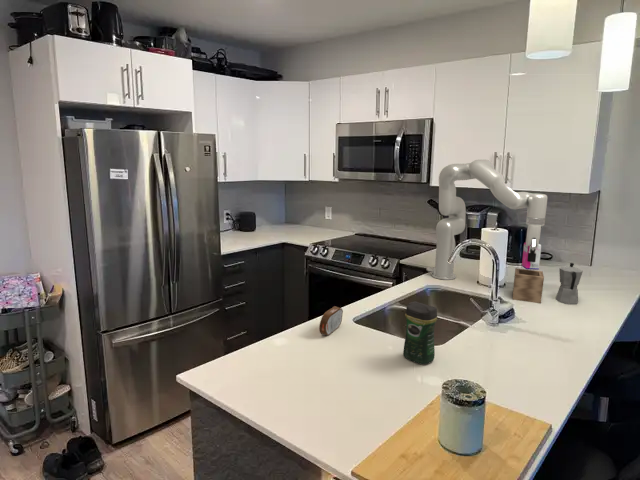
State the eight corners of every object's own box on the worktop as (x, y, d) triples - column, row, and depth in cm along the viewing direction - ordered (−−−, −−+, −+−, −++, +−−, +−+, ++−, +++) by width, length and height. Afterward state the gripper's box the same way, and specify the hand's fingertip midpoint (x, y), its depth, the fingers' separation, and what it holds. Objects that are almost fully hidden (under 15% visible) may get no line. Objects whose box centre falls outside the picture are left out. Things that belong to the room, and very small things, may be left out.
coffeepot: (553, 295, 208) (557, 258, 205) (575, 298, 205) (580, 260, 202) (558, 306, 194) (563, 266, 191) (582, 308, 191) (588, 268, 187)
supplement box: (534, 266, 204) (537, 242, 202) (539, 269, 198) (542, 245, 196) (521, 265, 205) (523, 241, 202) (525, 269, 199) (528, 244, 197)
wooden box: (512, 299, 201) (515, 274, 199) (512, 292, 212) (515, 268, 210) (540, 303, 197) (544, 277, 195) (539, 295, 208) (542, 271, 205)
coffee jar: (438, 359, 142) (442, 305, 138) (424, 367, 137) (428, 311, 133) (413, 349, 149) (416, 297, 145) (398, 356, 144) (402, 303, 140)
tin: (336, 323, 170) (336, 302, 168) (343, 325, 169) (344, 304, 167) (318, 337, 157) (318, 315, 155) (326, 339, 156) (326, 317, 154)
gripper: (525, 218, 206) (521, 255, 210) (526, 223, 191) (522, 263, 194) (543, 219, 204) (539, 256, 207) (546, 224, 188) (541, 265, 191)
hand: (530, 259), depth 201 cm, fingers closed on supplement box, 6 cm apart
